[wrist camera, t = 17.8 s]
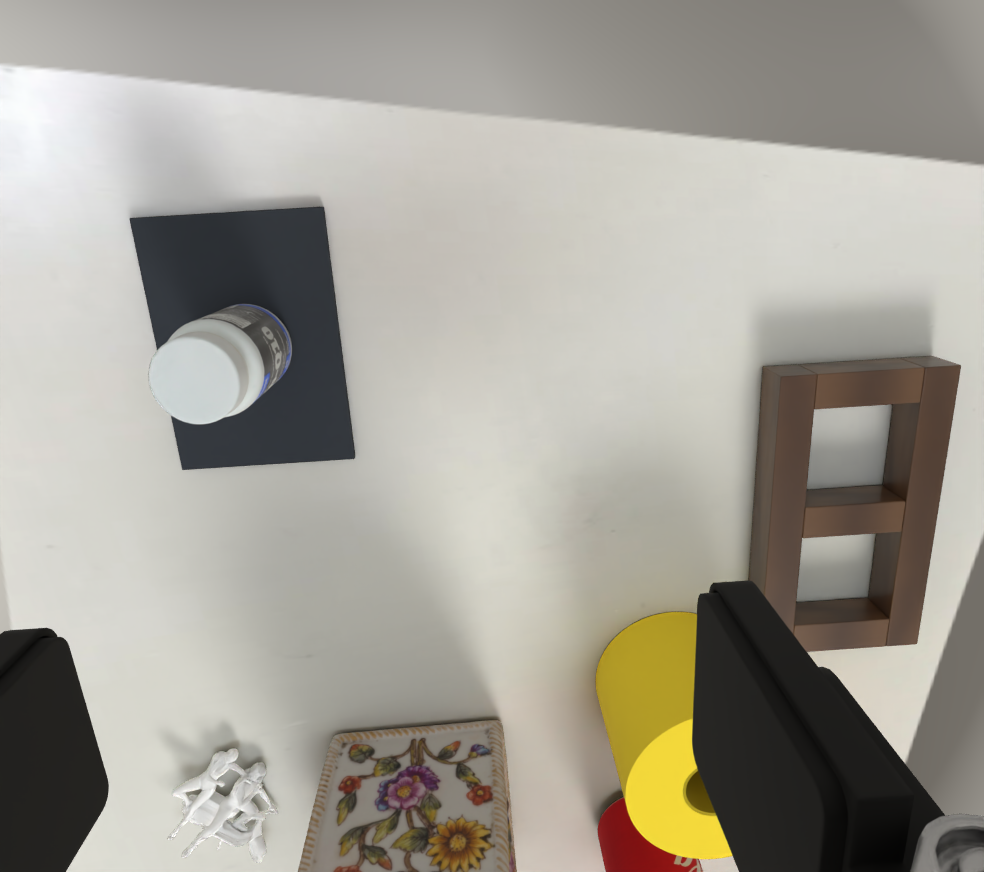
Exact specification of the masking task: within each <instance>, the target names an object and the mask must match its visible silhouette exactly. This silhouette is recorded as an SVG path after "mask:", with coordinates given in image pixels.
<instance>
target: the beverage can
mask: <svg viewBox="0 0 984 872" xmlns="http://www.w3.org/2000/svg"><path fill="white" fill-rule="evenodd" d="M598 837H599V842H600V847H601V851H602V856H603V861H604V866H605V871H606V872H703V870H702V867H701V864H700V861H699V859H694V858H687V857H682V856H678V855H674V854H671V853H669V852H666V851H664V850H662V849H660V848H658V847H656V846H655V845H653V844H652V843H650V842H649V841H648V840H647V839H645V838H644V837H643V836H642V835H641V834H640V832H639V831H638V830H637V829H636V827H635V826H634V824H633V822H632V821H631V818H630V816H629V813H628V810H627V806H626V802H625V799H624V797H622V798H620V799H618V800H617V801H615V802H614V803H612V804H611V805H610V806H609V807H608V808H607V809H606V810H605V811H604V813H603V814H602V816H601V818H600V821H599V824H598Z"/></svg>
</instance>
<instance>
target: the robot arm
mask: <svg viewBox="0 0 984 872" xmlns="http://www.w3.org/2000/svg"><path fill="white" fill-rule="evenodd" d="M692 748H693V754H694V759H695V763H696V766H697V769H698V771H699V774H700V776H701V779H702V781H703V784H704V786H705V789H706V791H707V793H708V796H709V798H710V801H711V803H712V806H713V808H714V811H715V813H716V816H717V818H718V821H719V823H720V826H721V828H722V830H723V833H724V835H725V838H726V840H727V843H728V845H729V848H730V850H731V853H732V855H733V858H734V860H735V863H736V865H737V867H738V870H739V872H984V816H978V815H969V814H954V815H948V816H945V815H944V813H943V812H942V811H941V809H940V808H939V807H938V806H937V804H936V803H935V802H934V801H933V800H932V798H931V797H930V795H929V794H928V793H927V791H926V790H925V789H924V788H923V786H922V785H921V784H920V783H919V781H918V780H917V779H916V777H915V776H914V775H913V774H912V772H911V771H910V770H909V769H908V767H907V766H906V765H905V763H904V762H903V761H902V759H901V758H900V757H899V756H898V754H897V753H896V752H895V750H894V749H893V748H892V747H891V745H890V744H889V743H888V741H887V740H886V739H885V738H884V736H883V735H882V734H881V732H880V731H879V730H878V729H877V727H876V726H875V725H874V723H873V722H872V721H871V720H870V718H869V717H868V716H867V714H866V713H865V712H864V711H863V709H862V708H861V707H860V705H859V704H858V703H857V702H856V700H855V699H854V698H853V696H852V695H851V694H850V693H849V691H848V690H847V689H846V688H845V686H844V685H843V684H842V682H841V681H840V680H839V679H838V677H837V676H836V675H835V674H834V673H833V672H832V671H831V670H830V669H827V668H824V667H818V666H817V665H816V664H815V662H814V661H813V660H812V658H811V657H810V656H809V654H808V653H807V652H806V650H805V649H804V648H803V646H802V645H801V644H800V643H799V641H798V640H797V639H796V637H795V636H794V635H793V633H792V632H791V631H790V629H789V628H788V627H787V625H786V624H785V623H784V621H783V620H782V619H781V617H780V616H779V615H778V613H777V612H776V611H775V609H774V608H773V607H772V605H771V604H770V603H769V601H768V600H767V599H766V597H765V596H764V595H763V593H762V592H761V591H760V589H759V588H758V587H757V585H756V584H755V583H754V582H753V581H735V582H721V583H713V584H712V585H711V587H710V590H709V593H704V594H700V595H699V598H698V604H697V629H696V653H695V677H694V701H693V726H692ZM108 788H109V784H108V779H107V775H106V772H105V768H104V765H103V761H102V758H101V754H100V751H99V748H98V744H97V741H96V737H95V734H94V730H93V727H92V723H91V720H90V717H89V713H88V710H87V706H86V703H85V699H84V696H83V692H82V689H81V686H80V682H79V679H78V675H77V672H76V668H75V665H74V661H73V658H72V655H71V651H70V648H69V645H68V643H67V641H66V640H65V639H64V638H62V637H57V634H56V633H55V632H54V631H53V630H52V629H49V628H38V629H23V630H10V631H4V632H3V633H1V634H0V872H66V870H67V869H68V867H69V865H70V864H71V862H72V860H73V859H74V857H75V855H76V854H77V852H78V850H79V849H80V847H81V845H82V844H83V842H84V840H85V839H86V837H87V836H88V834H89V832H90V831H91V829H92V827H93V826H94V824H95V822H96V821H97V819H98V817H99V816H100V814H101V812H102V811H103V808H104V806H105V804H106V801H107V797H108Z"/></svg>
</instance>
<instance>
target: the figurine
mask: <svg viewBox="0 0 984 872" xmlns="http://www.w3.org/2000/svg"><path fill="white" fill-rule="evenodd" d="M238 755H239V752H238V750H237V749H235V748H233V749H230V750H228V751H227V752H223V751H219V752H217V753H215V754H214V755H213V757H212V760H211V763H210V765H209V767H208V769H207V770H206V771H205V772H204V773H202V774H200V775H199V776H197V777H194V778H192V779H190V780H188V781H186V782H184V783H183V784H181V785H179V786H178V787H176V788H175V789H174V790H173V791H172V796H176V797H179V798H181V799H182V800H183V802H182V804H183V805H184V807H183V808H182V811H183V815H184V818H183V819H182V821H181V822H180V823H179V825H178V826H177V827H176V828H175V829H174V831H173V832H172V833H171V834H170V835H169V837H168V838H167V839H169V840H173V839H174V837H175V836H176V834H177V832H178V831H179V829H180V828H181V827H182V826H183V825H184V824H185V823H186V822H188V821H189V822H191V823H193V824H196V825H200V826H201V827H202V829H203V830H202V831H201V832H200V833H199V834H198V836H197V837H196V839H195V840H194V841H193V842H192V843H191V845H190V846H189V847H187V848H186V849H185V850H184V851H183V852H182V858H185V857H187V856H189V855H190V854H191V852H192V851H193V850H194V849H196V848H197V847H198V844H199V843H201V842H202V841H204V840H206V839H208V837H209V836H211V835H213V836H214V837H216V838H218V839H219V840H221V841H220V843H219V845H218V847H217V850H219V848H220V846H221V843H222V841H223V842H225V843H226V844H228V845H231V846H234V847H240V846H243V845H245V844H247V843H248V842H249V851H250V854H251V857H252V859H253V860H254V862H256V863H260V862H261V861H262V859H263V856H264V855H265V854H266V844H265V841H264V838H263V836H262V835H261V834H262V829H261V827H262V821H263V820H265V819H266V817H265V815H266V814H267V813H269V814H270V813H275V814H276V813H277V814H278V811H277V808H276V807H275V806H274V805H273V804H272V803H271V801H270V799H269V797H268V795H267V794H266V792H265V791H264V790H263V787H262V786H263V785H264V784H261V782H262V781H263V778H264V776H265V775H266V766H265V764H264V763H262V762H260V763H258V762H257V763H255V764H254V765H252V767H250V768H247V769H246V770H243V769H242V768H241V767H239V766H238V765H237V764H236V763H234V761H235V760H236V759H237V758H238ZM230 769H231V770H234V771H236V772H238V773H239V774H241V777H240V778H239V779H238V780H237V782H236V783H235V784H234V786H233V789H232V791H231V793H230V795H228V796H227V797H225V796H223V795H221V794H219V793H217V792H216V791H215V789H216V785H219V786H220V787H223V786H224V785H225V781H223V782H224V783H223V782H222V781H217V779H218V778H219V777H220V776H222V775H223V774H224V773H225V772H226V771H228V770H230ZM198 789H203V791H202V792H201V793H200V794H199V795H193V794H191V795H190V796H189V797H188V796H187V794H186V793H185V792H189V791H194V790H198ZM251 792H252V793H251ZM250 793H251V794H250ZM257 793H259V794H260V796H261V797H262V798H263V799H264V800H265V801H266V802H267V803H268V805H269V808H268V809H267V810H266V811H261V812H259V809H258V808H257V806H256V805H255V804H254V802H253V801H252V800H251V799H252V798H253V797H254V795H255V794H257ZM249 794H250V795H249ZM248 795H249V796H248ZM247 796H248V797H247ZM240 810H241V811H243V812H244V813H242V814H241V815H240V816H239V818H237V819H235V820H234V821H233V823H232V822H230V821H229V820H227V819H229V818H232V817H234V815H236V814H237V813H238V812H239V811H240ZM272 810H273V812H271V811H272ZM255 819H257V820H256V824H254V825H253V826H251V827H247V826H246V825H245V823H247V822H249V821H250V820H255ZM201 823H202V824H201ZM242 823H243V824H242Z"/></svg>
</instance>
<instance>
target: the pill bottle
mask: <svg viewBox="0 0 984 872" xmlns="http://www.w3.org/2000/svg"><path fill="white" fill-rule="evenodd" d="M291 355H292V345H291V339H290V336H289V333H288V331H287V329H286V327H285V326H284V324H283V323H282V322H281V321H280V320H279V319H278V318H277V317H276V316H275V315H274V314H273V313H271V312H270V311H268V310H267V309H264V308H262V307H259V306H256V305H251V304H237V305H233V306H229V307H227V308H224V309H222V310H219V311H217V312H215V313H212V314H210V315H207V316H205V317H202V318H200V319H197V320H194V321H191V322H189V323H187V324H185V325H183V326H182V327H180V328H179V329H178V330H177V331H176V332H175V333H174V334H173V335H172V336H171V337H170V338H169V340H168V341H167V342H166V343H165V344H163V345H162V346H161V347H160V348H159V349H158V350H157V352H156V353H155V354H154V356H153V358H152V360H151V363H150V367H149V384H150V388H151V391H152V393H153V396H154V397H155V399H156V401H157V402H158V403H159V405H160V406H161V407H162V408H163V409H164V410H165V411H166V412H167V413H169V414H170V415H171V416H173V417H175V418H177V419H179V420H181V421H183V422H187V423H191V424H208V423H212V422H216V421H218V420H220V419H222V418H223V417H229V416H233V415H236V414H238V413H240V412H242V411H244V410H245V409H247V408H248V407H249V406H250V405H252V404H253V403H254V402H255V401H256V400H257V399H258V398H259V397H260V396H261V395H262V394H264V393H265V392H266V391H267V390H268V389H269V388H270V387H271V386H272V385H274V384H275V383H276V382H277V381H278V380H279V379H280V378H281V377H282V376H283V375H284V373H285V372H286V370H287V368H288V366H289V364H290V360H291Z"/></svg>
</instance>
